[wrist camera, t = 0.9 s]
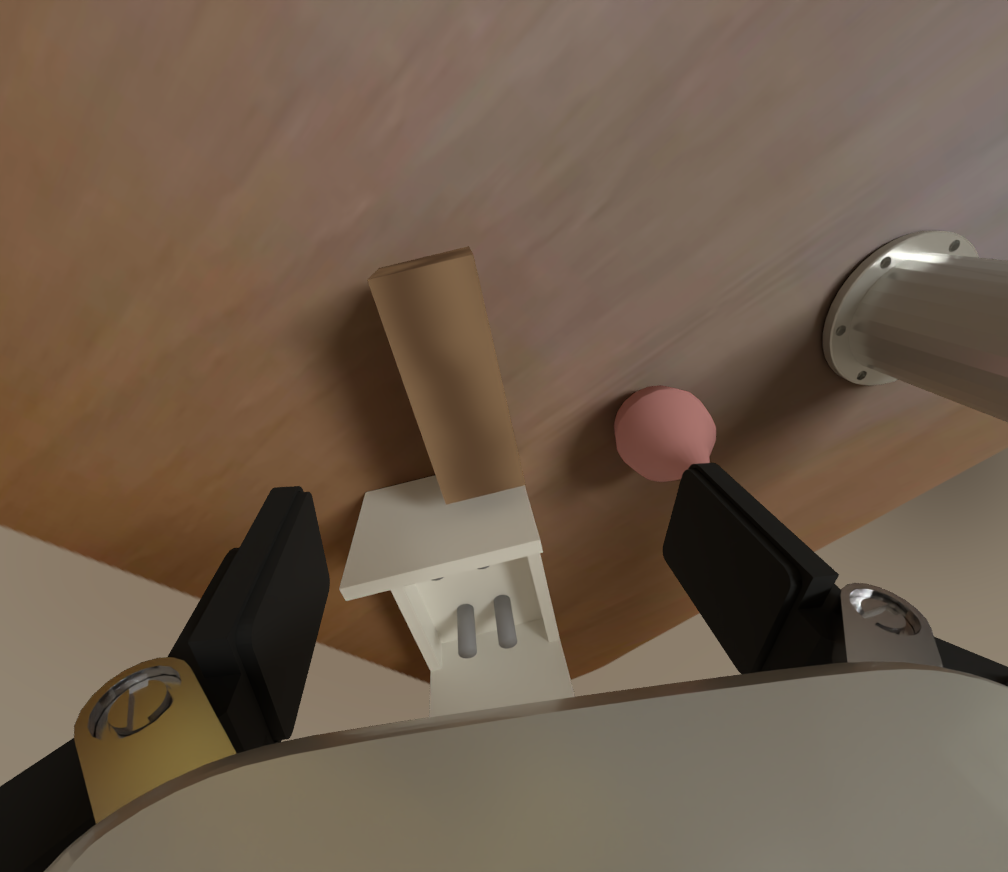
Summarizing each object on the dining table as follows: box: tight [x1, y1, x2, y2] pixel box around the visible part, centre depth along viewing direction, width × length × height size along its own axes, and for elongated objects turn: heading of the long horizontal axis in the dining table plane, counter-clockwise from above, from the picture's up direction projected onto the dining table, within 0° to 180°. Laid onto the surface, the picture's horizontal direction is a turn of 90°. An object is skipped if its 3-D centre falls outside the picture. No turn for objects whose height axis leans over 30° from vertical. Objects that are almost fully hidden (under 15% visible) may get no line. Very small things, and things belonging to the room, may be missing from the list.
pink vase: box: [614, 386, 716, 482], centre depth 34 cm, size 8×8×12 cm
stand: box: [339, 475, 575, 717], centre depth 40 cm, size 14×22×11 cm, turn 12°
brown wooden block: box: [367, 246, 526, 505], centre depth 30 cm, size 6×16×5 cm, turn 12°
